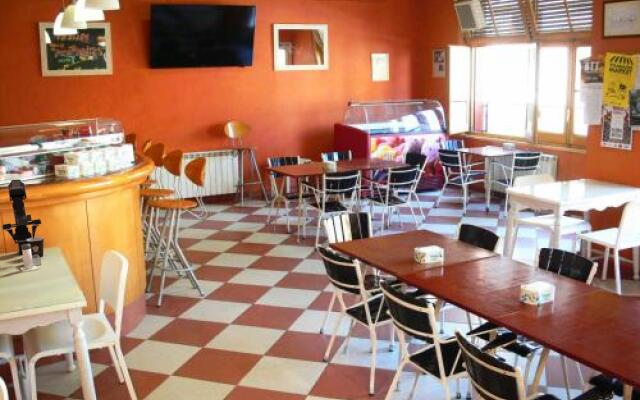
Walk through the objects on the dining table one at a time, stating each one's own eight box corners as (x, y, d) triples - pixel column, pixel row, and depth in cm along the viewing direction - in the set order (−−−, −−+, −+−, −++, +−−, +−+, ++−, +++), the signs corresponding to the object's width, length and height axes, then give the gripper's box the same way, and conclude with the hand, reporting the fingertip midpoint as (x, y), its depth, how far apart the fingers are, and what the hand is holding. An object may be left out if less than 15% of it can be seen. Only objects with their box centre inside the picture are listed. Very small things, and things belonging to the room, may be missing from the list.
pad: (19, 268, 341) (19, 268, 341) (35, 266, 345) (35, 265, 345) (22, 272, 335) (22, 271, 335) (38, 269, 339) (38, 268, 339)
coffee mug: (48, 254, 367) (46, 237, 365) (40, 259, 358) (38, 241, 356) (28, 254, 368) (26, 237, 366) (20, 259, 359) (18, 241, 357)
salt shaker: (23, 268, 341) (20, 244, 338) (32, 266, 343) (29, 243, 340) (25, 270, 337) (22, 246, 335) (34, 268, 339) (31, 244, 337)
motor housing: (23, 264, 349) (22, 256, 348) (38, 261, 353) (37, 254, 353) (25, 267, 343) (25, 260, 342) (41, 264, 347) (40, 257, 346)
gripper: (1, 213, 339) (6, 243, 339) (40, 208, 348) (45, 237, 348) (-1, 214, 348) (4, 243, 348) (37, 209, 358) (42, 237, 358)
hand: (24, 240), depth 351 cm, fingers open, 9 cm apart
